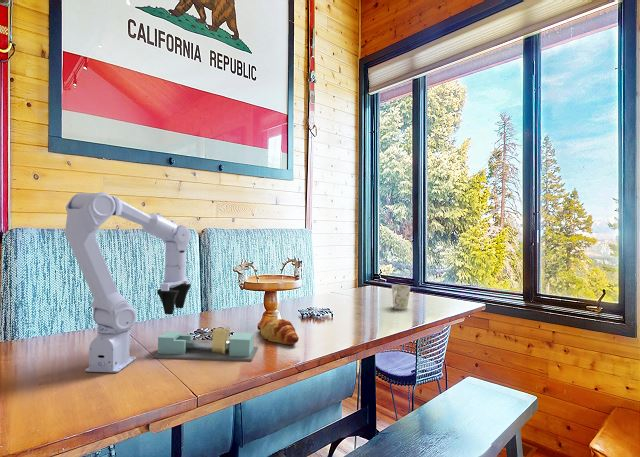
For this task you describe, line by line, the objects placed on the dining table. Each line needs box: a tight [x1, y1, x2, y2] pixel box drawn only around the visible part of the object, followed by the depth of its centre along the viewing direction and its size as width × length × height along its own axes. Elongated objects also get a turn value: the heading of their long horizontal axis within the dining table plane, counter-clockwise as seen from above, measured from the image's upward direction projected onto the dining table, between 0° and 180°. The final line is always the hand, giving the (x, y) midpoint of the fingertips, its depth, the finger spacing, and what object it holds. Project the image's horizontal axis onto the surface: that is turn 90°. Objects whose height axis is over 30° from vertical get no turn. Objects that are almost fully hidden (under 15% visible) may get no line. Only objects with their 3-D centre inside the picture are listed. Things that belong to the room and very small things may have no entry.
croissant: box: [260, 318, 299, 345], centre depth 121 cm, size 21×10×8 cm, turn 38°
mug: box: [391, 284, 411, 311], centre depth 168 cm, size 8×13×10 cm, turn 148°
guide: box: [153, 330, 259, 362], centre depth 105 cm, size 26×10×5 cm, turn 90°
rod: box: [186, 327, 231, 354], centre depth 105 cm, size 16×5×6 cm, turn 90°
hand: (174, 310), depth 111 cm, fingers open, 7 cm apart
